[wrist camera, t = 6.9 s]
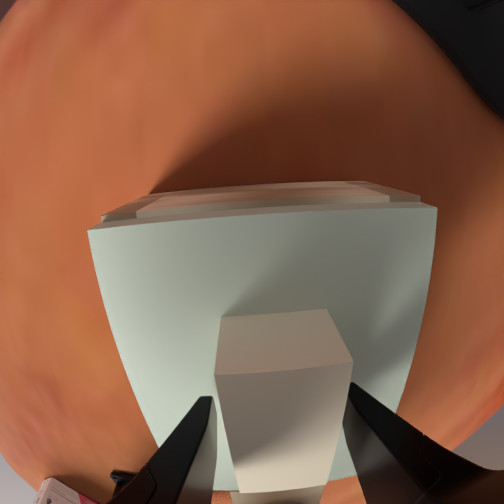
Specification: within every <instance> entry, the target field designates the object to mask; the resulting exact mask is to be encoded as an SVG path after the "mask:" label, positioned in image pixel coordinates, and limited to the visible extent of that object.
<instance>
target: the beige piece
mask: <svg viewBox="0 0 504 504" xmlns="http://www.w3.org/2000/svg"><path fill="white" fill-rule="evenodd" d="M420 200H421V196H420V195H416V194H413V193H409V192H405V191H402V190H398V189H394V188H390V187H387V186H383V185H379V184H375V183H371V182H366V181H323V182H294V183H273V184H256V185H241V186H228V187H216V188H204V189H194V190H184V191H174V192H165V193H157V194H148V195H146V196H143V197H141V198H139V199H137V200H134V201H132V202H130V203H128V204H126V205H123V206H121V207H119V208H117V209H115V210H113V211H110V212H108V213H106V214H104V215H102V216H101V219H102V222H109V221H117V220H126V219H135V218H144V217H153V216H163V215H174V214H184V213H195V212H207V211H219V210H232V209H246V208H261V207H277V206H295V205H316V204H341V203H375V202H420ZM324 486H325V485H320V486H314V487H307V488H300V489H292V490H283V491H272V492H258V493H240V492H239V490H229V493H230V496H231V499H232V502H233V504H319V503H320V500H321V497H322V493H323V490H324Z"/></svg>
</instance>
